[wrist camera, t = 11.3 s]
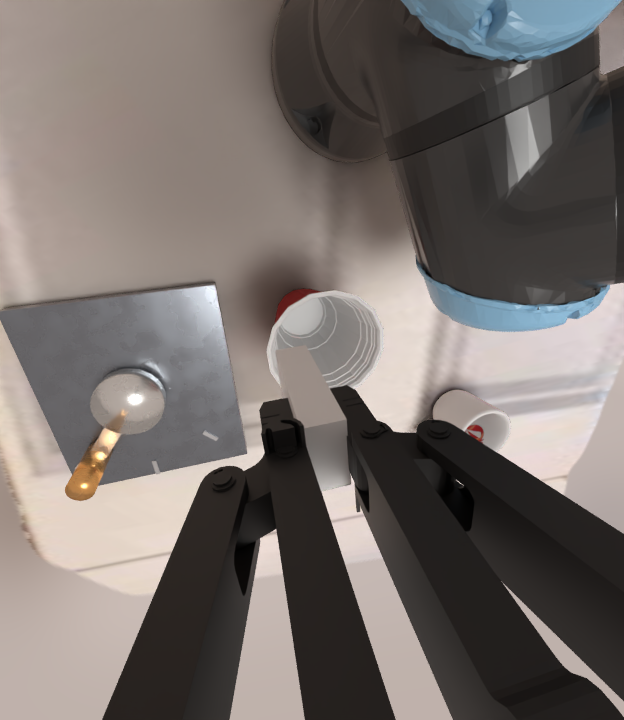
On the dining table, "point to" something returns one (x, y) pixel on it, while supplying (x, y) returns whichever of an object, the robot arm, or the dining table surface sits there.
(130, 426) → the metal measuring spoon
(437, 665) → the robot arm
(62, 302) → the panel
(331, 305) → the plastic cup
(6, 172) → the dining table surface
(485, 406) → the cup
